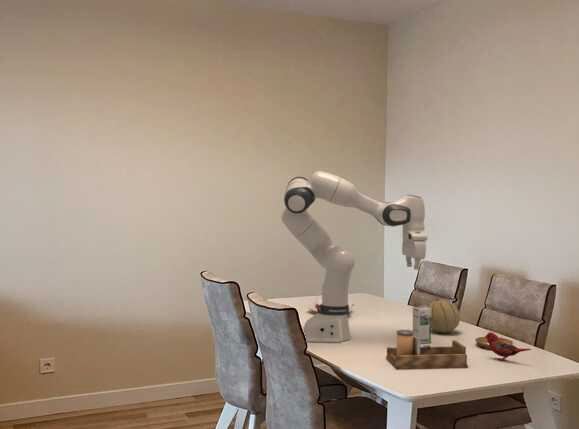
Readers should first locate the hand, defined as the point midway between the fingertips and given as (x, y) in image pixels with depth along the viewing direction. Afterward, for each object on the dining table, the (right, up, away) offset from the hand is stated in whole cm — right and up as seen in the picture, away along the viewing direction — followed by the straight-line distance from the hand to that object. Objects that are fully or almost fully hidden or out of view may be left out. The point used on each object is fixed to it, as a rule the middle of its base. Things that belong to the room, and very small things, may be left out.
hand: (412, 268), depth 259 cm
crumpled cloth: (-28, -29, +61) cm, 73 cm away
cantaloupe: (+17, -31, +21) cm, 41 cm away
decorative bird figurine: (+30, -33, -25) cm, 51 cm away
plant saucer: (+32, -32, -3) cm, 46 cm away
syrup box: (+4, -31, +4) cm, 32 cm away
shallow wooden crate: (-1, -32, -29) cm, 43 cm away
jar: (-9, -31, -30) cm, 44 cm away
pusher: (-3, -31, -29) cm, 43 cm away
